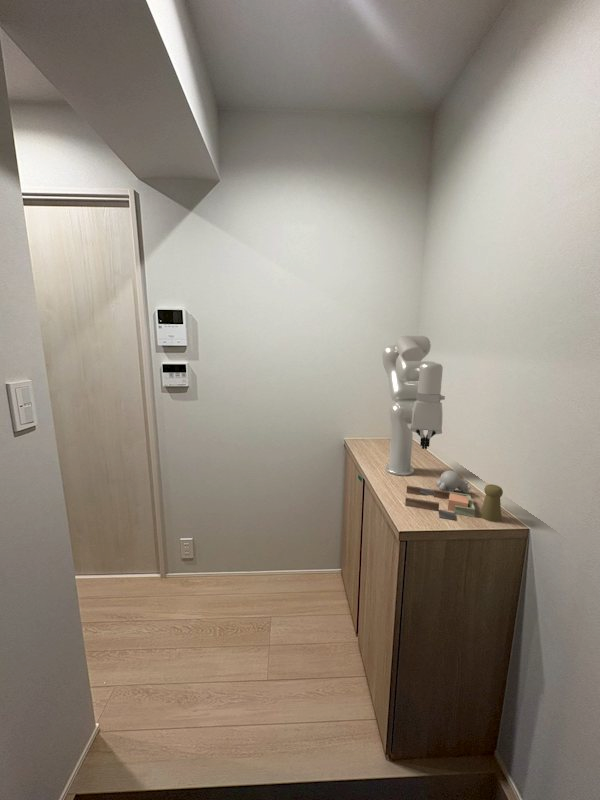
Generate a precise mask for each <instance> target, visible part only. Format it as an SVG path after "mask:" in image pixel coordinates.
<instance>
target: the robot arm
mask: <svg viewBox="0 0 600 800" xmlns="http://www.w3.org/2000/svg"><path fill="white" fill-rule="evenodd" d="M431 346H432V345H431V341H430V339H429V338H428V337H427V336H424V335H403V336H400V337H399V338H397V340H395V344H394V345H388V346H387V347H385V348H384V349H383V351H382V364H383V367H384V370H385V372H386V374H387V378H388V383H389V390H390V397H391V400H392V401H394V403H393V404H392V405H391V406H390V408H389V419H390V441H389V456H388V457H389V460H388V464H387V465H385V468H384V469H385V471H386V472H387V473H389V474H391V475H395V476H403V477H404V476H412V475H413V474H414V473H415V469H414V468H413V467H412V452H413V451H412V450H413V439H414V438H413V436H414V435H413V433H415V434H417V435H418V437H420V447H421V449H422V450H424V449H425V450H428V448H429V447H430V443H431V442H430V441H431V438H433V437H434V436H435V435H441V434H442V433H443V430H442V429H443V403H442V402H441V401H443V400H444V401H445V399H446V396H445V395H442V394H441V392H442V381H443V369H444V367H443V364H441V363H438V362H435V361H429V360H427V361H422V360H423V359H425V358H426V357H427V355H429V353H430V351H431ZM409 425H411V426H410V428H409ZM425 431H427V433H426V435H425V433H424V432H425Z"/></svg>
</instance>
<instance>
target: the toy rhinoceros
mask: <svg viewBox="0 0 600 800" xmlns="http://www.w3.org/2000/svg"><path fill="white" fill-rule="evenodd" d="M466 480H467V479H466V478H463V479H462V478H461V476H460V475H459V474H458V472H456V471H454V470H445V471H444V472H442V473H441V475H440V478H439V480H437V482H436V483H435V485H436V486H437V487H438V490H441V491H448V492H454V491H455V490H459V491H460V493H462V494H468V493H469V491H470V490H471V489H472V487H471V486H470V487H469V485H468V484H469V483H470V482H469V481H466Z"/></svg>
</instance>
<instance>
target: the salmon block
mask: <svg viewBox="0 0 600 800" xmlns="http://www.w3.org/2000/svg"><path fill="white" fill-rule="evenodd" d="M468 498H469V497H467V496H462V495H457V494H452V493H450V495H449V499H448V504H447V505H448V506H447V511H449V512H454V510H455V505H457V506H463V507H468Z"/></svg>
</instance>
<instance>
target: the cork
mask: <svg viewBox="0 0 600 800" xmlns="http://www.w3.org/2000/svg"><path fill="white" fill-rule="evenodd" d="M483 490H484V494H485V496H484V498H483V499H484V500H483V504H482V507H481V512H480V513H479V514H480V517H481V518H482V519H483V520H486V521H488V522H492V523H500V522H501V521H502V509H501V508H502V507H501V506H502V504H501V497H503V493H504V492H503V489H502V487H501V486H499V485H496V484H490V483H489V484H486V485H485V486H484V489H483Z"/></svg>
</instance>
